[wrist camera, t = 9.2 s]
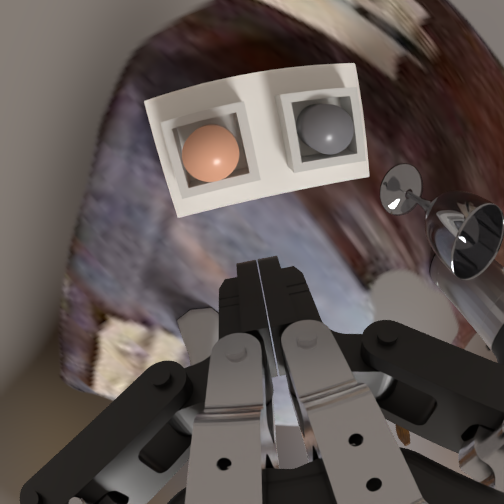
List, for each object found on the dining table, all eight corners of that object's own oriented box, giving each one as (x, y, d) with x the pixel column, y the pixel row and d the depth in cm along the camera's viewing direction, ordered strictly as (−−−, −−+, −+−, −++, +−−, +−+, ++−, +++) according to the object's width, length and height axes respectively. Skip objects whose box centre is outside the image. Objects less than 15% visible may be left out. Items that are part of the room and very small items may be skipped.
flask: (168, 316, 39) (159, 372, 30) (214, 299, 38) (214, 356, 30) (193, 348, 43) (191, 401, 34) (236, 334, 42) (241, 388, 33)
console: (339, 66, 25) (366, 60, 20) (353, 167, 31) (380, 183, 26) (153, 101, 26) (136, 100, 20) (182, 204, 32) (174, 228, 26)
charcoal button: (336, 101, 23) (349, 102, 21) (343, 145, 26) (356, 150, 23) (292, 106, 24) (300, 107, 21) (300, 152, 26) (309, 158, 23)
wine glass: (379, 224, 35) (446, 291, 22) (374, 166, 31) (457, 214, 18) (425, 211, 35) (497, 266, 22) (424, 156, 31) (509, 196, 18)
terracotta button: (231, 118, 23) (232, 120, 20) (241, 166, 25) (244, 174, 22) (180, 131, 23) (175, 135, 20) (193, 178, 25) (190, 188, 22)
